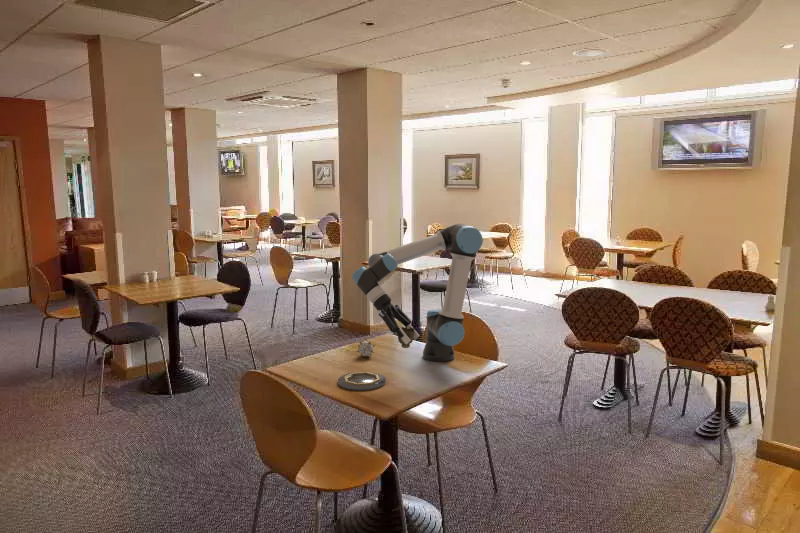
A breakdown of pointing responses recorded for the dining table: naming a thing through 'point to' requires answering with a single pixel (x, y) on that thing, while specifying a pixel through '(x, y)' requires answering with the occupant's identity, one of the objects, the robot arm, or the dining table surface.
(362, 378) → the carrier plate
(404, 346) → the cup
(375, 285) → the robot arm
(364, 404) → the dining table surface
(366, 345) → the game die
